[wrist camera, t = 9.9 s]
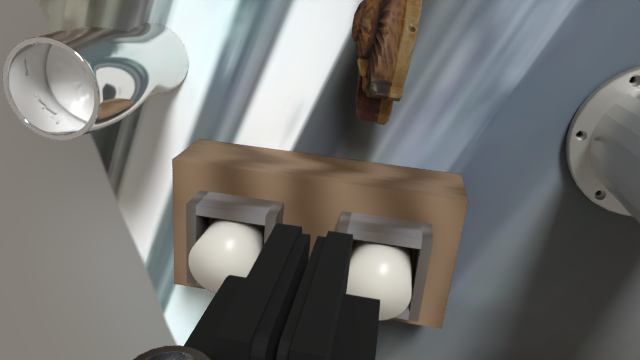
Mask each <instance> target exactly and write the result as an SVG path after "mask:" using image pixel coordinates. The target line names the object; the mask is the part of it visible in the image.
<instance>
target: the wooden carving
mask: <svg viewBox="0 0 640 360" xmlns="http://www.w3.org/2000/svg"><path fill="white" fill-rule="evenodd" d="M422 1H423V0H364V1H362V2H361V3H360V4H359V6H358V8H357V10H356V13H355V15H354V19H353V26H352V37H353V40H354V41H355V42H356V47H357V53H358V56H359V59H358V60H357V67H358V72H359V77H358V84H357V92H356V98H355V111H356V115H357V117H358V119H360V120H367V121H374V122H376V123H378V124H383V125H384V124H385V123H387V121H388V120H389V117H390V114H391V111H392V106H393V101H400V99H401V97H402V92H403V87H404V83H405V80H406V76H407V73H408V69H409V65H410V61H411V56H412V52H413V49H414V44H415V40H416V35H417V31H418V25H419V19H420V14H421V8H422Z"/></svg>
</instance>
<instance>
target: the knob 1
mask: <svg viewBox="0 0 640 360" xmlns="http://www.w3.org/2000/svg"><path fill="white" fill-rule="evenodd" d="M264 234H265V226H264V225H258V224H251V223H245V222H238V221H232V220H225V219H218V218H216V219H215V220H214V221H213V223H212V224H211V225H210V226H209V228H208V229H207V230H206V231H205V232H204V234H203V235H202V236H201V237H200V239H199V240H198V241H197V242H196V244H195V245H194V246H193V247H192V249H191V251H190V254H189V260H188V261H189V268H190V271H191V273H192V275H193V277H194V278H195V280H196V281H197V282H198V283H199V284H200V285H201V286H203V287H204V288H206V289H207V290H209V291H211V292H214V293H217V291H218V290H219V288H220V286H221V285H222V283H223V282H224V280H225V279H226V277H227V276H228V275H234V276H240V277H247V275H248V274H249V272H250V270H251V268H252V266H253V264H254V263H255V261H256V259H257V257H258V255H259V254H260V252H261V250H262V248H263V246H264Z"/></svg>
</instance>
